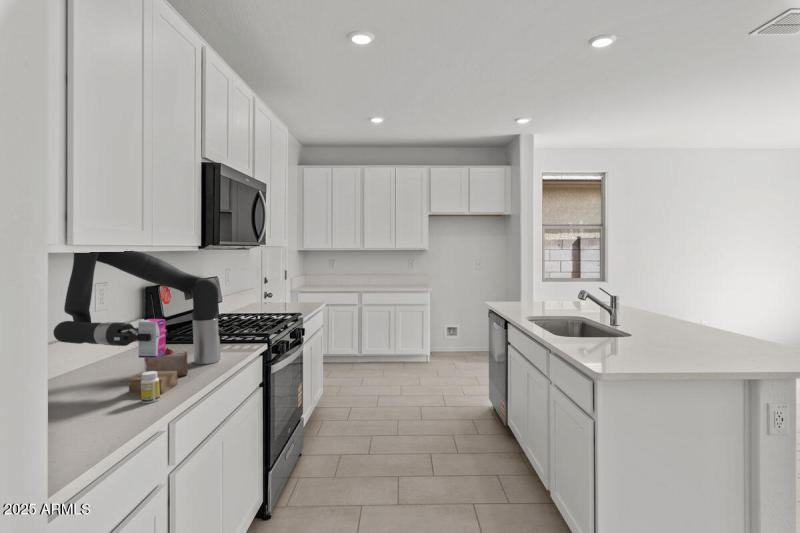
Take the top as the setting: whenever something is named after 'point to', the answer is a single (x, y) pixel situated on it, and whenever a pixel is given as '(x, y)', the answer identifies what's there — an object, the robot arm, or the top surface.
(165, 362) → the food item
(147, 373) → the supplement bottle
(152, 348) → the supplement box
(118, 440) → the top surface
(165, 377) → the tan block
